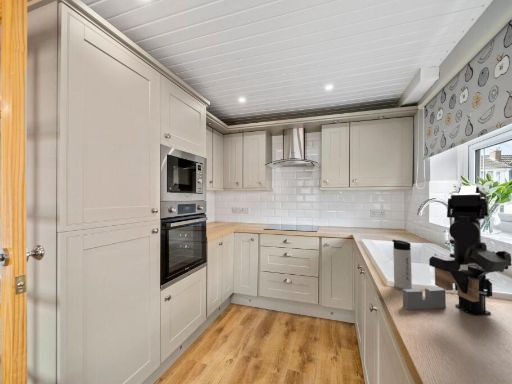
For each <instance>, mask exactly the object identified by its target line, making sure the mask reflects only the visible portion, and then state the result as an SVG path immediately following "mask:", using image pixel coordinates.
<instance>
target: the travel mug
mask: <svg viewBox="0 0 512 384" xmlns="http://www.w3.org/2000/svg"><path fill="white" fill-rule="evenodd" d="M391 242H392V243H393V251H392V252H393V286H394V288H395V289H396V290H398V291H402V292H403V289H413V285H412V283H413V282H412V278H413V277H412V275H413V274H412V249H411V246H412V245H411V243H410V242H408V241H404V240H400V239H398V240H397V239H392V240H391Z"/></svg>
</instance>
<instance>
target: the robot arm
mask: <svg viewBox="0 0 512 384" xmlns="http://www.w3.org/2000/svg"><path fill="white" fill-rule="evenodd" d="M446 209H447V210H446V211H447V212H446V217H447V218H449V219H450V218H451V219H452V218H453V221H452V224H451V225H450V226H449V231H448V232H449V235H450V237H451V238H452V239H449V243H450V244H453V252H452V253H450V254H449V257H448V256H444V255H431V257H429V260H428V262H429V267H433V268H434V269H435V268H438V269H441V270H443V271H448V272H450V273H451V274H452V276H453V277H454V279H455V281H456V282H457V284H458V286H459V288H460V289H461V291H462V292H463V293H465V294H467V290H468V276H470V277H473V278H476V279H479V302H472V301H469V300H467V299H465V298H463V297H461V296H458V303H457V304H455V307H456V308H458V309H460V310H462V311H464V312H466V313H468V314H469V315H472V316H484V315H491V314H492V312H491V311H488V310H487V308H486V297H487V298H490V297H493V283H492V282H491V280H490V279H489V277H487V275H488V274H489V273H495V272H499V273H504V271H505V270H509V267H511V266H512V257H511V253H509V252H508V251H506V250H500V251H499V250H498V251H496V252H495V251H491V250H488V249H487V244H486V242H482V239H481V237H482V235H481V222H480V221H481V220H485V219H486V217H488V216H489V214H488V213H489V211H488V209H489V207H488V200H487V194H485V193H484V192H483V191H481V190H480V186H477V185H461V186H459V187H458V192H457V193H452V194H450V197H448V198H447V208H446ZM454 291H457V285H456V284H454Z"/></svg>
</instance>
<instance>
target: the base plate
mask: <svg viewBox="0 0 512 384" xmlns="http://www.w3.org/2000/svg"><path fill="white" fill-rule="evenodd" d="M446 298H447V297H446V290H445V289H443V288H441V287H438V286H437V287H425V288H424V296H423V291H422V290H421V289H419V288H412V289H403V291H402V307H403V308H405V309H406V310H408V311H409V310H421V309H423V310H424V309H426V310H427V309H442V308H444V309H445V308H447V304H446V300H447V299H446Z"/></svg>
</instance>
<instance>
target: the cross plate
mask: <svg viewBox="0 0 512 384" xmlns="http://www.w3.org/2000/svg"><path fill="white" fill-rule="evenodd" d="M455 284H456V285H457V296H458V297H459V296H461V297H463V298H465V299H467V300H469V301H472V302H479V279H476V278H473V277H470V276H468V290H467V294H465V293H463V292H462V291H461V289H460V288H459V286H458V284H457V282H456V281H455V279H454V277H453V276H452V274H451V273H450V272H448V271H443V270H441V269H438V268H435V267H434V286H437V287H440V288H442V289H444V290H445V291H454V285H455Z"/></svg>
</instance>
